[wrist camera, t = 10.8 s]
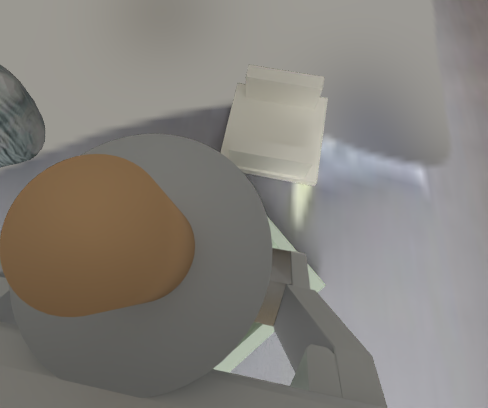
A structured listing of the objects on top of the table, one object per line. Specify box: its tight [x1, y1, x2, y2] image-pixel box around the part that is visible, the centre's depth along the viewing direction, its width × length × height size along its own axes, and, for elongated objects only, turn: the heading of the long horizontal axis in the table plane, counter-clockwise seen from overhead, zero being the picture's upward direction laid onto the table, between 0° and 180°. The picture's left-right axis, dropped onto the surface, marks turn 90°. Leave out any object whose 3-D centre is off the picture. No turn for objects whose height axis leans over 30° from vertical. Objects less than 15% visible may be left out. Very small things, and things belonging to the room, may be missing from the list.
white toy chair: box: [220, 65, 328, 186], centre depth 21 cm, size 8×11×3 cm
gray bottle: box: [0, 134, 272, 398], centre depth 9 cm, size 4×4×14 cm
